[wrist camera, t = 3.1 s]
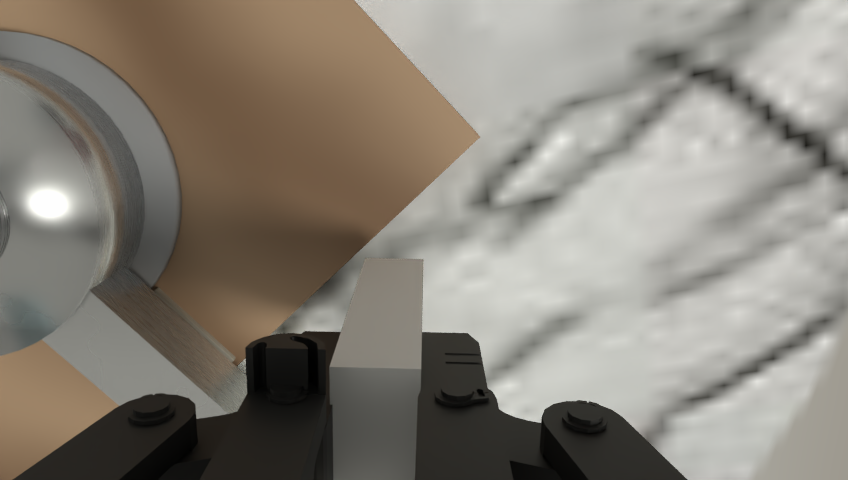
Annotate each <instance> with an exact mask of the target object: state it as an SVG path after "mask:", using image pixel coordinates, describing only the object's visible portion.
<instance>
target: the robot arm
mask: <svg viewBox="0 0 848 480" xmlns="http://www.w3.org/2000/svg"><path fill="white" fill-rule="evenodd" d="M422 300H423V259H385V258H365V261H364V264H363V267H362V270H361V273H360V276H359V279H358V282H357V285H356V288H355V291H354V294H353V297H352V300H351V303H350V306H349V309H348V312H347V315H346V318H345V321H344V324H343V327H342V330H341V332H311V331H305V332H303V333H302V334H295V333H288V334H276V335H271V336H266V337H262V338H260V339H257V340H255V341H252V342H251V343H250V344H249V345H248V346H246V347H245V354H246V376H247V395H246V397H245V398H244V400H243V402H242V404H241V406H240V407H239V409H238V411H237V412H234V413H230V414H225V415H220V416H213V417H206V418H199V419H196V406H195V403H194V402H193V401H191V400H190V399H189V398H186V397H183V396H179V395H171V394H165V393H156V394H155V395H153V394H149V395H144V396H142V397H141V398H137V399H134V400H131V401H128V402H126V403H124V404H122V405H120V406H118V407H116V408H115V409H113V410H112V411H111V412H109V413H108V414H106V415H105V416H103V417H102V418H100V419H99V420H98V421H96V422H95V423H93V424H92V425H90V426H89V427H88V428H86V429H85V430H83V431H82V432H80V433H79V434H77V435H76V436H75V437H73V438H72V439H70V440H69V441H67V442H66V443H65V444H63V445H62V446H60V447H59V448H57V449H56V450H54V451H53V452H52V453H50V454H49V455H47V456H46V457H44V458H43V459H42V460H40V461H39V462H37V463H36V464H34V465H33V466H31V467H30V468H29V469H27V470H26V471H24V472H23V473H21V474H20V475H19V476H17V477H16V478H14V479H13V480H687V479H686V478H685V477H684V476H683V475H682V474H681V473H680V472H679V471H678V470H677V469H676V468H675V467H674V466H673V465H671V464H670V463H669V462H668V461H667V460H666V459H665V458H664V457H663V456H662V455H661V454H660V453H659V452H658V451H657V450H656V449H655V448H654V447H653V446H652V445H651V444H650V443H649V442H648V441H647V440H646V439H645V438H644V437H642V436H641V435H640V434H639V433H638V432H637V431H636V430H635V429H634V428H633V427H632V426H631V425H630V424H629V423H628V422H627V421H626V420H625V419H624V418H623V417H621V416H620V415H619V414H617V413H616V412H614V411H613V410H611V409H608V408H606V407H603V406H600V405H599V404H597V403H593V402H589V403H587V401H580V400H578V401H566V402H561V403H557V404H553V405H551V406H550V407H548V408H547V409H545V410H544V413H543V415H542V422H541V423H537V422H532V421H527V420H523V419H519V418H515V417H513V416H510V415H508V414H506V413H504V412H502V411H501V410H499V408H498V403H497V399H496V397H495V395H494V394H493V392H492V391H491V390H489V389H488V388H487V383H486V378H485V373H484V367H483V362H482V357H481V352H480V346H479V343H478V342H477V341H476V340H475V339H474V338H472V337H471V336H470V335H469V334H468V333H430V332H422Z"/></svg>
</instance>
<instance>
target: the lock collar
mask: <svg viewBox="0 0 848 480" xmlns="http://www.w3.org/2000/svg"><path fill="white" fill-rule="evenodd" d="M144 219H145V198H144V191H143V184H142V180H141V176H140V172H139V169H138V165H137V163H136V160H135V158H134V156H133V153H132V151H131V148H130V147H129V145H128V143H127V141H126V140H125V138H124V136H123V134H122V133H121V131H120V130H119V128H118V127H117V126H116V124H115V123H114V122H113V120H112V119H111V117H110V116H109V115H108V114H107V113H106V112H105V111H104V110H103V109H102V108H101V107H100V106H99V104H98V103H97V102H95V101H94V100H93V99H92V98H91V97H89V96H88V95H87V94H86V93H85V92H84V91H82V90H81V89H79V88H78V87H76V86H75V85H73V84H72V83H70V82H69V81H67V80H66V79H64V78H62V77H60V76H58V75H56V74H54V73H52V72H50V71H47V70H45V69H42V68H39V67H36V66H33V65H30V64H26V63H21V62H17V61H12V60H1V59H0V356H2V355H6V354H9V353H12V352H16V351H19V350H22V349H24V348H26V347H28V346H30V345H32V344H35V343H37V342H38V341H40V340H41V339H42V340H43V341H44V342H45V343H46V344H48V345H49V346H50V347H51V348H52V349H53V350H55V351H56V352H57V353H58V354H59V355H60V356H62V357H63V358H64V359H65V360H66V361H67V362H69V363H70V364H71V365H72V366H73V367H74V368H76V369H77V370H78V371H79V372H80V373H81V374H83V375H84V376H85V377H86V378H87V379H88V380H90V381H91V382H92V383H93V384H94V385H95V386H97V387H98V388H99V389H100V390H101V391H102V392H104V393H105V394H106V395H107V396H108V397H109V398H111V399H112V400H113V401H114V402H115V403H116V404H118V405H119V406H120V405H122V404H124V403H126V402H128V401H131V400H134V399H137V398H141V397H142V396H144V395H149V394H153V395H155V394H156V393H165V394H171V395H179V396H183V397H186V398H189V399H190V400H191V401H193V402H194V403H195V406H196V419H199V418H206V417H213V416H220V415H225V414H230V413H234V412H237V411H238V409H239V407H240V406H241V404H242V402H243V400H244V398H245V397H246V395H247V376H246V375H245V374H244V373H243V372H242V371H241V370H240V369H239V368H238V367H236V366H235V365H234V364H233V363H232V362H231V361H230V360H229V359H228V358H226V357H225V356H224V355H223V354H222V353H221V352H220V351H219V350H218V349H217V348H215V347H214V346H213V345H212V344H211V343H210V342H209V341H208V340H207V339H206V338H204V337H203V336H202V335H201V334H200V333H199V332H198V331H197V330H196V329H194V328H193V327H192V326H191V325H190V324H189V323H188V322H187V321H186V320H185V319H183V318H182V317H181V316H180V315H179V314H178V313H177V312H176V311H175V310H173V309H172V308H171V307H170V306H169V305H168V304H167V303H166V302H165V301H164V300H162V299H161V298H160V297H159V296H158V295H157V294H156V293H155V292H154V291H153V290H151V289H150V288H149V287H148V286H147V285H146V284H145V283H144V282H143V281H141V280H140V279H139V278H138V277H137V276H136V275H135V274H134V273H133V272H132V271H130V270H129V269H128V268H129V267H130V265H131V264H132V262H133V260H134V257H135V255H136V253H137V250H138V248H139V245H140V241H141V237H142V233H143V227H144Z"/></svg>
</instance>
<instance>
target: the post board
mask: <svg viewBox="0 0 848 480" xmlns="http://www.w3.org/2000/svg"><path fill="white" fill-rule="evenodd" d="M0 59H1V60H12V61H17V62H21V63H26V64H30V65H33V66H36V67H39V68H42V69H45V70H47V71H50V72H52V73H54V74H56V75H58V76H60V77H62V78H64V79H66V80H67V81H69V82H70V83H72V84H73V85H75V86H76V87H78V88H79V89H81V90H82V91H84V92H85V93H86V94H87V95H88V96H89V97H91V98H92V99H93V100H94V101H95V102H97V103H98V104H99V106H100V107H101V108H102V109H103V110H104V111H105V112H106V113H107V114H108V115H109V116H110V117H111V119H112V120H113V122H114V123H115V124H116V126H117V127H118V128H119V130H120V131H121V133H122V134H123V136H124V138H125V140H126V141H127V143H128V145H129V147H130V148H131V151H132V153H133V156H134V158H135V160H136V163H137V165H138V169H139V172H140V176H141V180H142V184H143V191H144V198H145V219H144V227H143V233H142V237H141V241H140V245H139V248H138V250H137V253H136V255H135V257H134V260H133V262H132V264H131V265H130V267H129V268H128V269H129V270H130V271H132V272H133V273H134V274H135V275H136V276H137V277H138V278H139V279H140V280H141V281H143V282H144V283H145V284H146V285H147V286H148V287H149V288H150V289H151V290H153V291H154V292H155V293H156V294H157V295H158V296H159V297H160V298H161V299H162V300H164V301H165V302H166V303H167V304H168V305H169V306H170V307H171V308H172V309H173V310H175V311H176V312H177V313H178V314H179V315H180V316H181V317H182V318H183V319H185V320H186V321H187V322H188V323H189V324H190V325H191V326H192V327H193V328H194V329H196V330H197V331H198V332H199V333H200V334H201V335H202V336H203V337H204V338H206V339H207V340H208V341H209V342H210V343H211V344H212V345H213V346H214V347H215V348H217V349H218V350H219V351H220V352H221V353H222V354H223V355H224V356H225V357H226V358H228V359H229V360H230V361H231V362H232V363H233V364H234V365H235V366H237V365H238V364H240V363H241V362H242V361H243V360H244V359H245V358H246V354H245V347H246V346H248V345H249V344H250V343H251V342H252V341H255V340H257V339H260V338H262V337H266V336H269V335H270V334H271V333H272V332H274V331H275V330H276V329H277V328H278V327H279V326H280V325H281V324H282V323H283V322H284V321H285V320H286V319H287V318H288V317H289V316H291V315H292V314H293V313H294V312H295V311H296V310H297V309H298V308H299V307H300V306H301V305H302V304H303V303H304V302H305V301H306V300H307V299H309V298H310V297H311V296H312V295H313V294H314V293H315V292H316V291H317V290H318V289H319V288H320V287H321V286H322V285H323V284H324V283H326V282H327V281H328V280H329V279H330V278H331V277H332V276H333V275H334V274H335V273H336V272H337V271H338V270H339V269H340V268H341V267H343V266H344V265H345V264H346V263H347V262H348V261H349V260H350V259H351V258H352V257H353V256H354V255H355V254H356V253H357V252H358V251H360V250H361V249H362V248H363V247H364V246H365V245H366V244H367V243H368V242H369V241H370V240H371V239H372V238H373V237H374V236H375V235H377V234H378V233H379V232H380V231H381V230H382V229H383V228H384V227H385V226H386V225H387V224H388V223H389V222H390V221H391V220H392V219H394V218H395V217H396V216H397V215H398V214H399V213H400V212H401V211H402V210H403V209H404V208H405V207H406V206H407V205H408V204H409V203H411V202H412V201H413V200H414V199H415V198H416V197H417V196H418V195H419V194H420V193H421V192H422V191H423V190H424V189H425V188H426V187H428V186H429V185H430V184H431V183H432V182H433V181H434V180H435V179H436V178H437V177H438V176H439V175H440V174H441V173H442V172H443V171H445V170H446V169H447V168H448V167H449V166H450V165H451V164H452V163H453V162H454V161H455V160H456V159H457V158H458V157H459V156H460V155H462V154H463V153H464V152H465V151H466V150H467V149H468V148H469V147H470V146H471V145H472V144H473V143H474V142H475V141H476V140H477V139H479V138H480V136H479V135H478V134H477V133H476V131H475V130H474V129H473V128H472V127H471V126H470V125H469V124H468V123H467V122H466V121H465V120H464V119H463V117H462V116H461V115H460V114H459V113H458V112H457V111H456V110H455V109H454V108H453V107H452V106H451V104H450V103H449V102H448V101H447V100H446V99H445V98H444V97H443V96H442V95H441V94H440V93H439V92H438V90H437V89H436V88H435V87H434V86H433V85H432V84H431V83H430V82H429V81H428V80H427V79H426V78H425V76H424V75H423V74H422V73H421V72H420V71H419V70H418V69H417V68H416V67H415V66H414V65H413V63H412V62H411V61H410V60H409V59H408V58H407V57H406V56H405V55H404V54H403V53H402V52H401V51H400V49H399V48H398V47H397V46H396V45H395V44H394V43H393V42H392V41H391V40H390V39H389V38H388V36H387V35H386V34H385V33H384V32H383V31H382V30H381V29H380V28H379V27H378V26H377V25H376V24H375V22H374V21H373V20H372V19H371V18H370V17H369V16H368V15H367V14H366V13H365V12H364V11H363V10H362V8H361V7H360V6H359V5H358V4H357V3H356V2H355V1H354V0H0ZM118 406H119V405H118V404H116V403H115V402H114V401H113V400H112V399H111V398H109V397H108V396H107V395H106V394H105V393H104V392H102V391H101V390H100V389H99V388H98V387H97V386H95V385H94V384H93V383H92V382H91V381H90V380H88V379H87V378H86V377H85V376H84V375H83V374H81V373H80V372H79V371H78V370H77V369H76V368H74V367H73V366H72V365H71V364H70V363H69V362H67V361H66V360H65V359H64V358H63V357H62V356H60V355H59V354H58V353H57V352H56V351H55V350H53V349H52V348H51V347H50V346H49V345H48V344H46V343H45V342H44V341H43V340H42V339H41V340H40V341H38V342H37V343H35V344H32V345H30V346H28V347H26V348H24V349H22V350H19V351H16V352H12V353H9V354H6V355H2V356H0V480H13V479H14V478H16V477H17V476H19V475H20V474H21V473H23V472H24V471H26V470H27V469H29V468H30V467H31V466H33V465H34V464H36V463H37V462H39V461H40V460H42V459H43V458H44V457H46V456H47V455H49V454H50V453H52V452H53V451H54V450H56V449H57V448H59V447H60V446H62V445H63V444H65V443H66V442H67V441H69V440H70V439H72V438H73V437H75V436H76V435H77V434H79V433H80V432H82V431H83V430H85V429H86V428H88V427H89V426H90V425H92V424H93V423H95V422H96V421H98V420H99V419H100V418H102V417H103V416H105V415H106V414H108V413H109V412H111V411H112V410H113V409H115V408H116V407H118Z"/></svg>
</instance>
